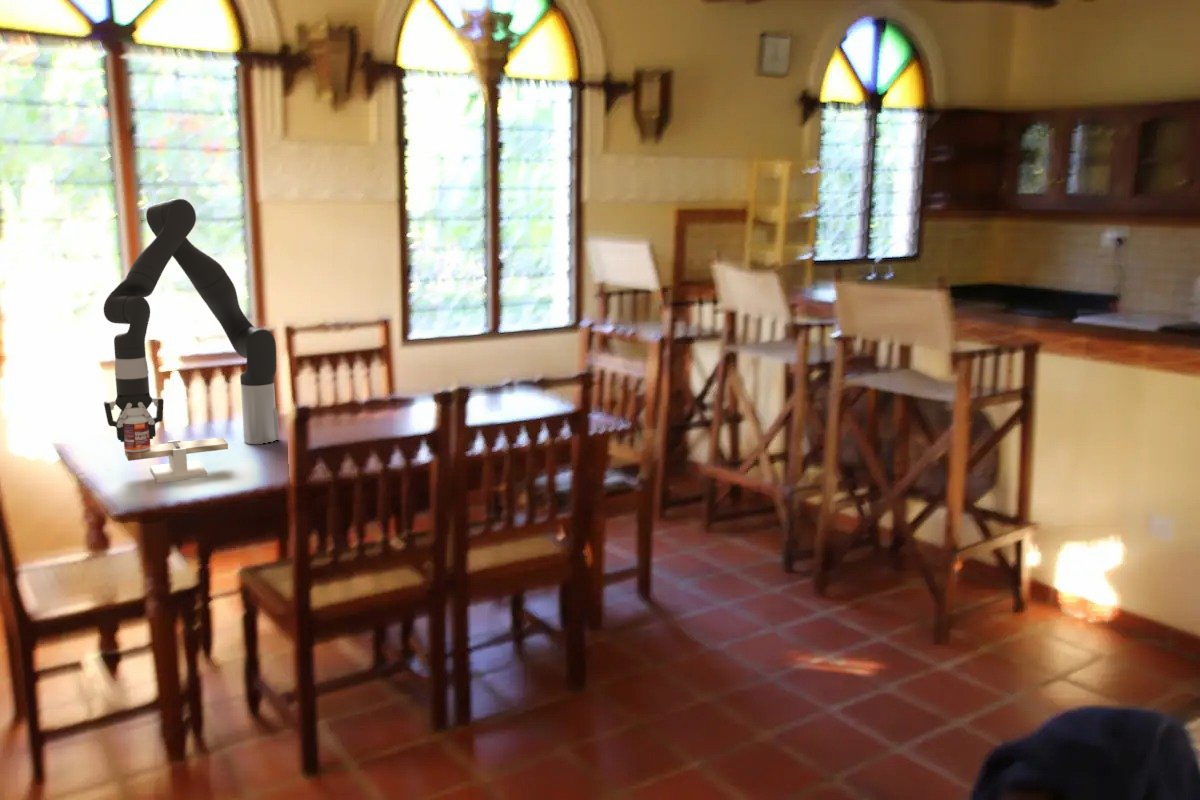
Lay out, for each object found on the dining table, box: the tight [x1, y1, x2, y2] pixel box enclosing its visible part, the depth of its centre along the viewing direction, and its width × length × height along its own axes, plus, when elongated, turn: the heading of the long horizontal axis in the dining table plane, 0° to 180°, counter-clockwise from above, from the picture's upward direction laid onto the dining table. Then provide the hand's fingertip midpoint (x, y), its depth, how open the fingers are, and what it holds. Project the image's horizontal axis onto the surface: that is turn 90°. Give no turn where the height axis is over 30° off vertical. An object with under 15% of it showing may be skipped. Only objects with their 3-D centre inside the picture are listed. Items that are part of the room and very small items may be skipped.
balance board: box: [124, 437, 229, 462], centre depth 272 cm, size 24×8×2 cm, turn 119°
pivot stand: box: [149, 439, 209, 483], centre depth 272 cm, size 12×14×8 cm
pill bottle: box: [122, 407, 151, 453], centre depth 266 cm, size 6×6×11 cm
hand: (136, 439), depth 266 cm, fingers closed on pill bottle, 6 cm apart
